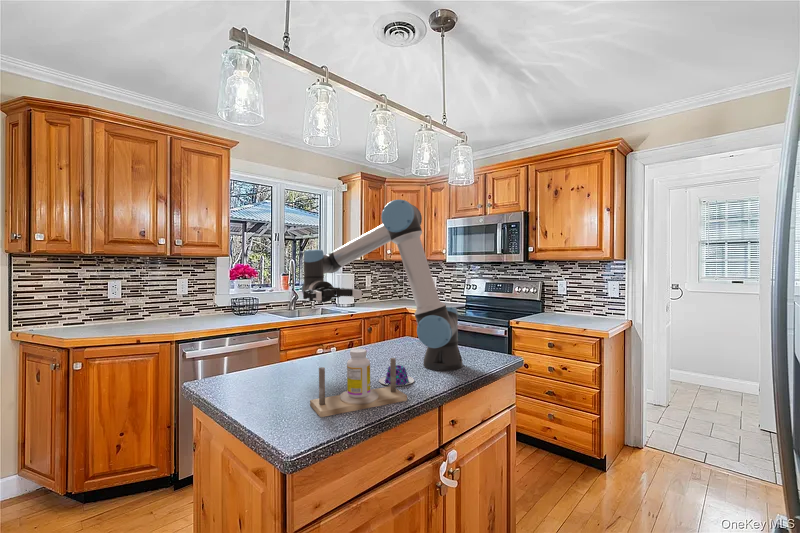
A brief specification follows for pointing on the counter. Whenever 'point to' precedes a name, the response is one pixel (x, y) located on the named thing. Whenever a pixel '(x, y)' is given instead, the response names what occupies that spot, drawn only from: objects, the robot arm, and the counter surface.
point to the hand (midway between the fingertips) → (341, 295)
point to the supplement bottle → (358, 374)
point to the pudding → (397, 376)
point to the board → (348, 404)
